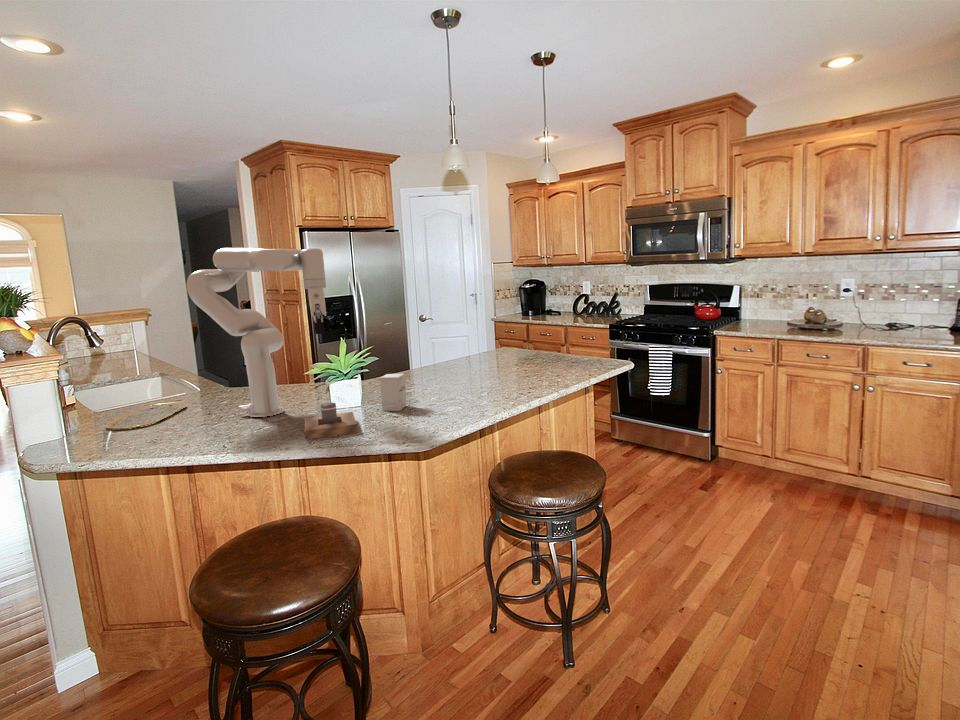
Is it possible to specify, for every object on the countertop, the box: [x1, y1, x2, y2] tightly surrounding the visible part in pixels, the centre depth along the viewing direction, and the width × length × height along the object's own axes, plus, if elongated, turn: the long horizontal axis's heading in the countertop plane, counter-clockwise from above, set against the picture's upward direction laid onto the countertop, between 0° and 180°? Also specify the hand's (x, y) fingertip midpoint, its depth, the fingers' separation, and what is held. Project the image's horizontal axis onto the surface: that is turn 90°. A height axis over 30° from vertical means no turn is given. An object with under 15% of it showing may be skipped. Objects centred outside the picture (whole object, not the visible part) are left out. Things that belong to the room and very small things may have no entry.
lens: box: [320, 402, 338, 425], centre depth 176 cm, size 5×5×8 cm
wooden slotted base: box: [304, 411, 359, 440], centre depth 176 cm, size 16×16×3 cm
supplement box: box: [379, 373, 407, 412], centre depth 199 cm, size 7×7×13 cm
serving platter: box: [105, 401, 188, 431], centre depth 204 cm, size 19×35×2 cm, turn 3°
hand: (319, 332), depth 191 cm, fingers open, 9 cm apart
